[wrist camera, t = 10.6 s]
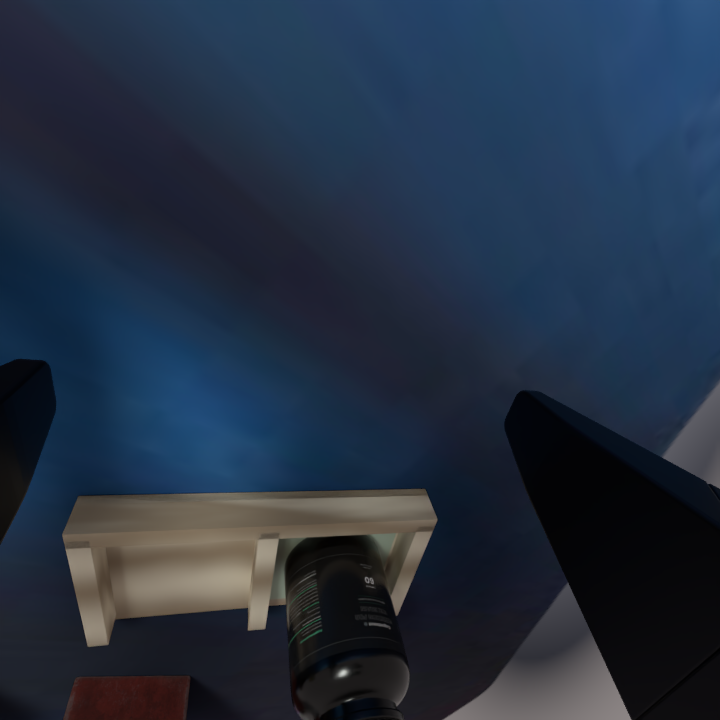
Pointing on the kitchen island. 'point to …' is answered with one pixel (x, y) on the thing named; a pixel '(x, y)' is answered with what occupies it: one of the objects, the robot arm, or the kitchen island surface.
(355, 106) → the kitchen island surface
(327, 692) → the supplement bottle
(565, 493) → the robot arm
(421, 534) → the birch rack
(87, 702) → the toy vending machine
